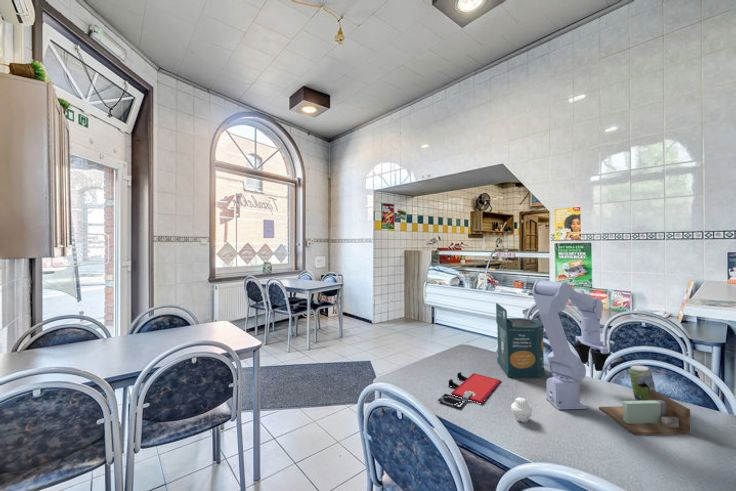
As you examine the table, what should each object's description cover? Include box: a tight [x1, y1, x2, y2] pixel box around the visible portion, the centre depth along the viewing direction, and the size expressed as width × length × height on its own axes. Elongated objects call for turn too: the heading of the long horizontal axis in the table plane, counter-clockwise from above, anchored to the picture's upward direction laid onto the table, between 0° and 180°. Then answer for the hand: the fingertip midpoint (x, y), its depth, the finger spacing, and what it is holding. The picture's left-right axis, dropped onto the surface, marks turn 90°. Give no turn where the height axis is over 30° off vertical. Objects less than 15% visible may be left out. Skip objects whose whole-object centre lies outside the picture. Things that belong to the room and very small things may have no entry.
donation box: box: [495, 303, 546, 379], centre depth 138 cm, size 16×16×28 cm
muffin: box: [510, 397, 533, 423], centre depth 100 cm, size 6×6×7 cm
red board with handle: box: [437, 371, 502, 407], centre depth 120 cm, size 30×3×15 cm
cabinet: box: [598, 390, 691, 436], centre depth 98 cm, size 16×14×7 cm
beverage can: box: [628, 364, 657, 401], centre depth 109 cm, size 6×7×12 cm
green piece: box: [622, 400, 666, 424], centre depth 96 cm, size 12×2×6 cm, turn 89°
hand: (591, 366), depth 117 cm, fingers open, 7 cm apart
